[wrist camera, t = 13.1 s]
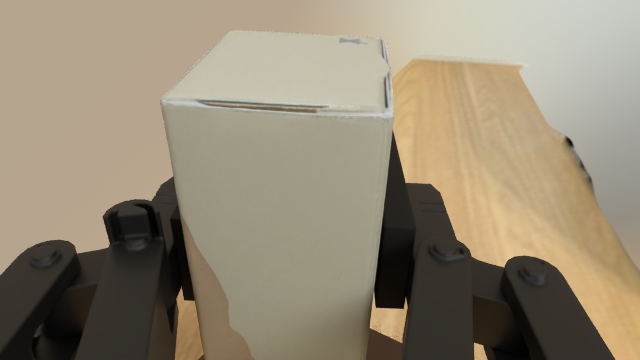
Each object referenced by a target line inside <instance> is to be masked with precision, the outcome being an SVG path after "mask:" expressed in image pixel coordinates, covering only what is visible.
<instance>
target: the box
mask: <svg viewBox="0 0 640 360" xmlns="http://www.w3.org/2000/svg"><path fill="white" fill-rule="evenodd" d="M160 104H161V109H162V114H163V119H164V124H165V130H166V136H167V141H168V146H169V151H170V158H171V164H172V170H173V176H174V182H175V189H176V194H177V200H178V205H179V210H180V218H181V223H182V228H183V234H184V241H185V247H186V252H187V258H188V264H189V269H190V275H191V281H192V287H193V293H194V299H195V304H196V310H197V316H198V322H199V328H200V335H201V341H202V347H203V352H204V358H205V360H366V353H367V344H368V336H369V327H370V319H371V310H372V302H373V293H374V285H375V277H376V269H377V260H378V252H379V244H380V235H381V227H382V218H383V210H384V202H385V193H386V185H387V176H388V167H389V158H390V149H391V140H392V130H393V121H394V104H393V88H392V79H391V71H390V63H389V56H388V49H387V43H386V41H385V40H384V39H376V38H368V37H356V36H337V35H317V34H299V33H281V32H280V33H279V32H265V31H244V30H241V31H240V30H238V31H236V30H234V31H231V32H229V33H228V34H227V35H225V36H224V38H222V39H221V40H220V41H219V42H218V43H217V44H216V45H215V46H213V48H211V49H210V50H209V51H208V52H207V53H206V54H205V55H204V56H203V57H202V58H201V59H200V60H199V61H198V62H197V63H196V64H195V65H194V66H193V67H192V68H191V69H190V70H189V71H188V72H187V73H186V74H185V75H184V76H183V77H182V78H181V79H180V80H179V81H178V82H177V83H176V84H175V85H174V86H173V87H172V88H171V89H170V90H169V91H168V92H167V93H166V94H165V95H164V96H163V97H162V99H161V100H160Z"/></svg>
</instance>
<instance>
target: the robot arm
mask: <svg viewBox="0 0 640 360" xmlns="http://www.w3.org/2000/svg"><path fill="white" fill-rule="evenodd" d="M103 219H104V223H105V227H106V231H107V234H108V238H109V242H110V245H109V247H108V248H105V249H101V250H96V251H90V252H84V253H79V254H77V253H76V249H75V246H74V245H73V244H72V243H70V242H69V241H64V240H51V241H46V242H42V243H39V244H36V245H34V246H33V247H31V248H28V249H27V250H25V251H24V252H23V253H21V254H20V255H19V256H18V257H17V258H16V259H15V260H14V261H13V262H12V263H11V265H10V266H9V267H8V268H7V269H6V270H5V271H4V272H3V273H2V274H1V275H0V360H175V348H176V336H177V325H178V313H179V311H178V306H177V300H176V298H177V296H178V293H179V291H180V288H181V286H182V291H183V296H184V300H190V301H195V299H194V293H193V287H192V281H191V275H190V269H189V264H188V258H187V252H186V247H185V241H184V234H183V228H182V223H181V218H180V210H179V205H178V200H177V194H176V189H175V182H174V176H173V177H172V178H170V179H169V180H168V181H166V182H165V183H163V184H162V185H161V187H160V188H159V190H158V191H157V193H156V196H154V198H153V199H152V201H148V200H137V199H135V200H130V201H124V202H122V203H119V204H117V205H114V206H113V207H112V208H110V209H108V210H107V211H106V213H105V214H104V215H103ZM374 294H375V305H376V308H396V309H404V304H405V298H406V299H407V305H408V309H407V315H406V321H405V327H404V333H403V339H402V340H403V343H402V350H401V357H400V360H474V343H478V344H481V345H484V350H485V353H486V356H487V359H488V360H615V358H614V357H613V355H612V353H611V352H610V350H609V349H608V347H607V345H606V344H605V342H604V341H603V339H602V337H601V336H600V334H599V333H598V331H597V329H596V328H595V326H594V325H593V323H592V321H591V320H590V318H589V317H588V315H587V313H586V312H585V310H584V309H583V307H582V305H581V304H580V302H579V301H578V299H577V297H576V296H575V294H574V293H573V291H572V289H571V288H570V286H569V285H568V283H567V281H566V280H565V278H564V277H563V275H562V274H561V273H560V272H559V270H558V269H557V268H556V267H554V266H553V265H551V264H550V263H548V262H547V261H544V260H541V259H539V258H536V257H530V256H516V257H513V258H511V259H509V260H508V261H507V263H506V265H505V268H504V267H500V266H496V265H492V264H488V263H485V262H482V261H479V260H477V259H475V258H473V257H472V256H471V253H470V250H469V249H468V248H467V247H466V246H465V245H464V244H463V243H461V242H460V241H458V240H457V239H456V236H455V233H454V230H453V228H452V225H451V222H450V219H449V216H448V214H447V211H446V208H445V205H444V202H443V199H442V197H441V194H440V192H439V191H438V190H436V189H435V188H434V187H433V186H432V185H431V184H418V183H406V182H405V178H404V174H403V170H402V166H401V162H400V158H399V154H398V150H397V145H396V141H395V137H394V133H393V130H392V140H391V149H390V158H389V167H388V176H387V185H386V193H385V202H384V210H383V218H382V227H381V235H380V244H379V252H378V260H377V269H376V277H375V285H374Z"/></svg>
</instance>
